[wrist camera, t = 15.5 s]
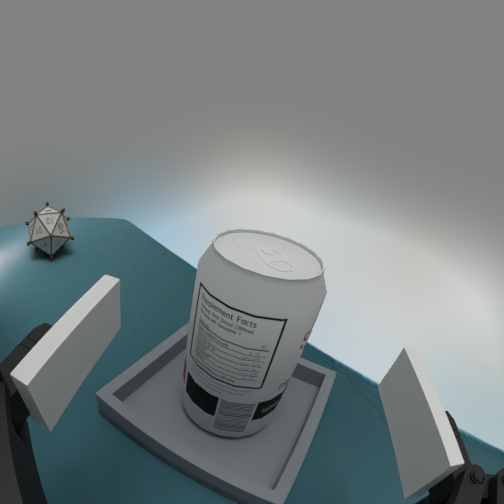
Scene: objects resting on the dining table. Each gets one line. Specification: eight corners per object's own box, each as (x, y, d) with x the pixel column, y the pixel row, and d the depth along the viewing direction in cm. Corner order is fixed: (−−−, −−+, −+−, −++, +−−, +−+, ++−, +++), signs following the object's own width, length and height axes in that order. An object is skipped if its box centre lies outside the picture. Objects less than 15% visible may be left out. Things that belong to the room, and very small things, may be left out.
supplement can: (171, 375, 25) (189, 222, 20) (251, 366, 29) (292, 229, 23) (195, 448, 19) (228, 287, 13) (287, 428, 22) (360, 282, 17)
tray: (100, 413, 20) (94, 393, 19) (199, 331, 34) (202, 311, 33) (269, 516, 15) (282, 506, 14) (325, 390, 29) (336, 372, 27)
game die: (46, 268, 42) (41, 213, 43) (85, 258, 43) (78, 201, 44) (17, 265, 33) (14, 202, 34) (59, 252, 34) (54, 185, 35)
